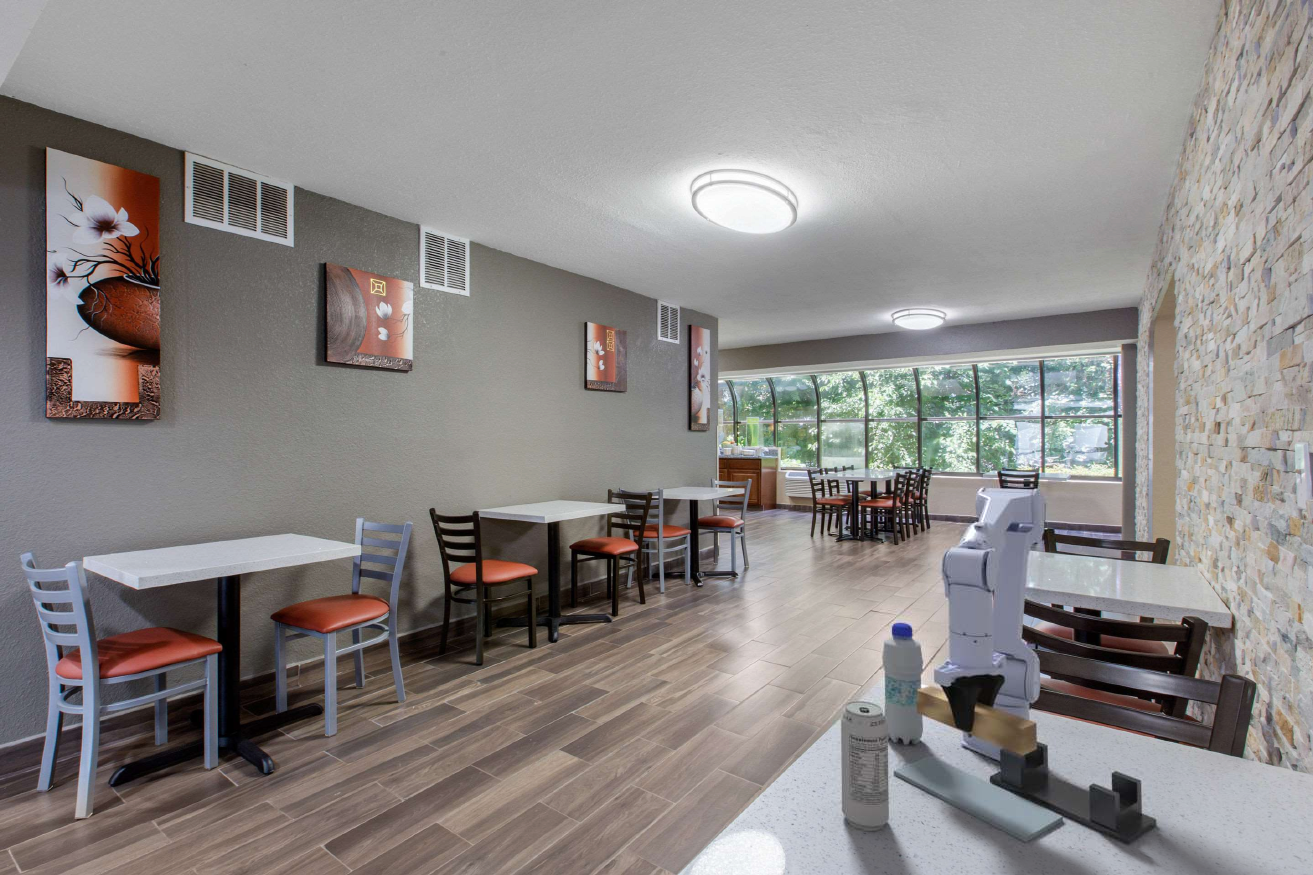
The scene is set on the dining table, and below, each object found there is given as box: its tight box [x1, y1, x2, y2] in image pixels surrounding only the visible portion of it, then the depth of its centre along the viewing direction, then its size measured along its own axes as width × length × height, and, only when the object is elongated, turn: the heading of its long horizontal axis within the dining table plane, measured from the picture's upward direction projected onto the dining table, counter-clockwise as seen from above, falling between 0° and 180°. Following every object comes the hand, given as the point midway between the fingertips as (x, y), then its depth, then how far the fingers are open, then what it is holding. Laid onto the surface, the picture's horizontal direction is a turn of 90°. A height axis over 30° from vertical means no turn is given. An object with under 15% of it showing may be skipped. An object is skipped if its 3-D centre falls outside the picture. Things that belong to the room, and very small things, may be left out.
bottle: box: [881, 622, 924, 746], centre depth 109 cm, size 7×7×20 cm
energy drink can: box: [840, 700, 890, 832], centre depth 85 cm, size 6×6×15 cm
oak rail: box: [917, 685, 1038, 755], centre depth 91 cm, size 16×4×4 cm, turn 31°
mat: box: [893, 755, 1064, 843], centre depth 91 cm, size 20×9×1 cm, turn 31°
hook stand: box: [989, 741, 1157, 845], centre depth 89 cm, size 18×8×5 cm, turn 31°
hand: (972, 725), depth 91 cm, fingers closed on oak rail, 3 cm apart
